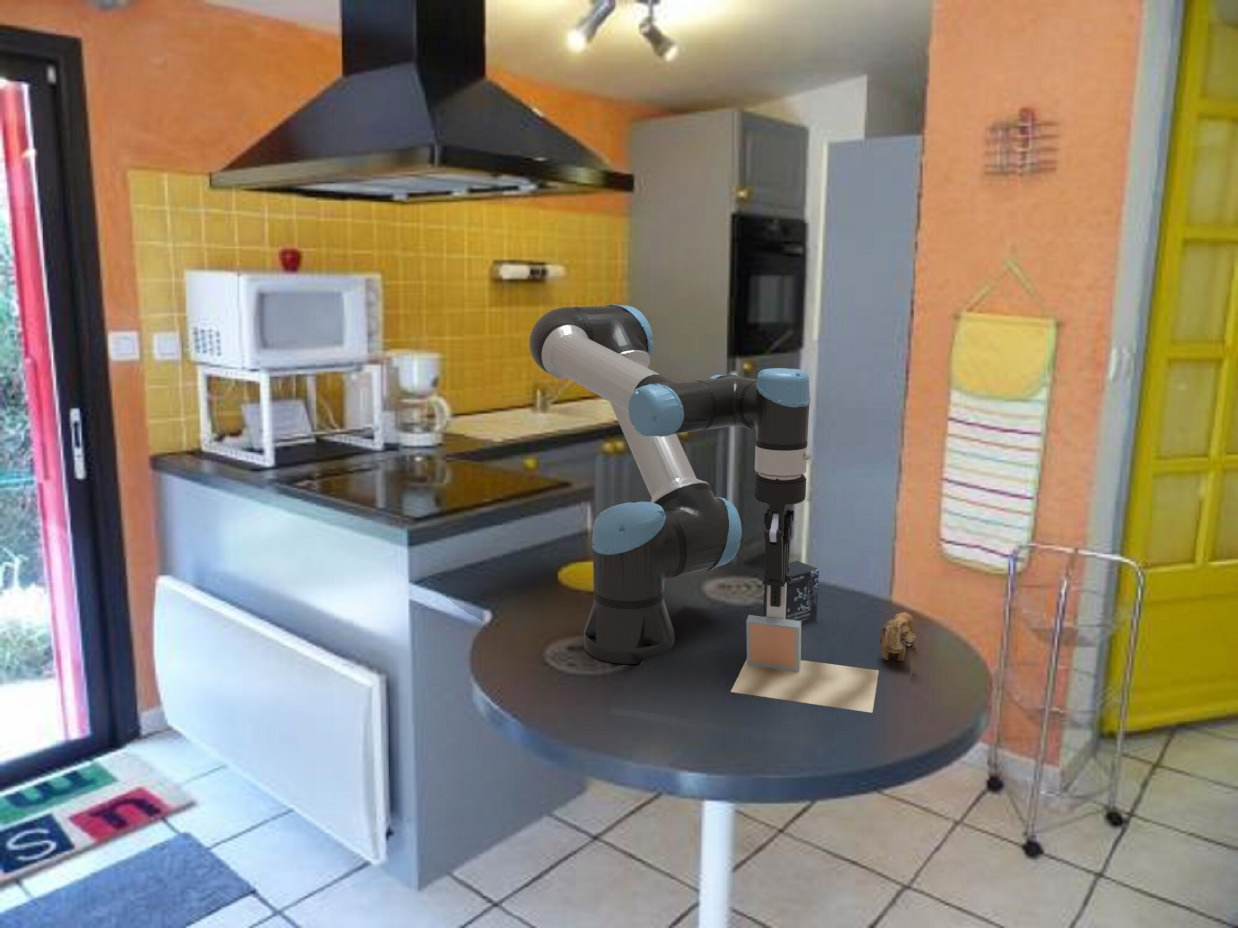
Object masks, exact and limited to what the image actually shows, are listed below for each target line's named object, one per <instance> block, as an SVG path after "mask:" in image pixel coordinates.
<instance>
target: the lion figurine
mask: <svg viewBox="0 0 1238 928" xmlns="http://www.w3.org/2000/svg"><path fill="white" fill-rule="evenodd" d="M915 628H916V627H915V621H914V617H913V616H912V615H911V614H909V613H908V612H905V611H904V612H900V613H896V614H895V616H893V617H891V618H889V619H888V620H886V622H885V624H884V625H883V626H882V628H881V629H880V631H881V632H880V637H879V638H880V644H881V656H882V659H883V660H886V661H889V653H891V654H898V655H897V656H898V657H897V661H899V662H904V661H905V655H906V651H907V648H906V647H907V646H908V647H910V646H911V649H912V650H915V649H916V643H915V641H916V639H917V636H916V635H915V630H916V629H915Z"/></svg>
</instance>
